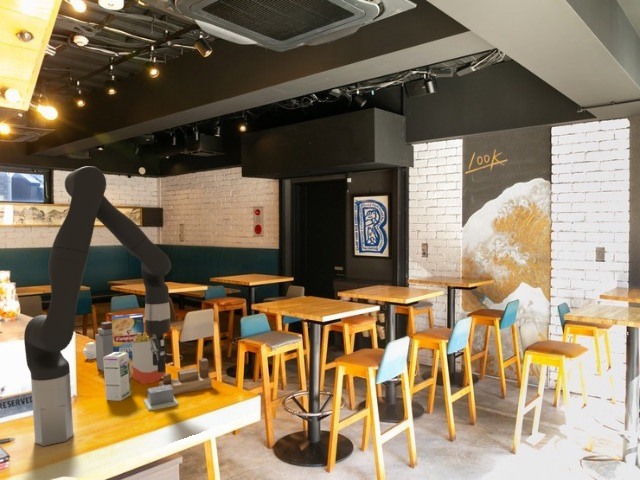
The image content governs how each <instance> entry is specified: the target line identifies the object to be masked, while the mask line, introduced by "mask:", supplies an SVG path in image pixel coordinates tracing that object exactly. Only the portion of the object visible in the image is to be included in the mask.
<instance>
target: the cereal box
mask: <svg viewBox="0 0 640 480" xmlns="http://www.w3.org/2000/svg"><path fill="white" fill-rule="evenodd" d="M111 322H112V334H113V352H128V354H129V368H130V378H132V377H133V378H134V376H133V357H132V343H134V342H133V339H135V340H136V341H137V333H141V336H143V333H145V324H144V315H143V313H142V312H140V313H131V314H119V315H112V316H111Z"/></svg>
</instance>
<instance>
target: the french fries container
mask: <svg viewBox="0 0 640 480" xmlns="http://www.w3.org/2000/svg"><path fill="white" fill-rule="evenodd" d="M133 342H134V343H132V357H133V379H135V380H136V381H138V382H139V383H141V384H150V383H156V382H155V381H157V382H160V380H161V379H163V374H167V372H166V371H167V370H166V365H165V372H160V373H159V372H158V366H157V365H156V366H154V365H153V354H152V352H151V351H152V350H151V349H150V348H151V339H150V335H147V333H146V332H145V331H144V333H143V336H141V333H137V341H136V340H135V339H133ZM161 355H163V353H160V356H161Z"/></svg>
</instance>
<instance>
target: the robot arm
mask: <svg viewBox="0 0 640 480" xmlns="http://www.w3.org/2000/svg"><path fill="white" fill-rule="evenodd" d="M64 188H65V191H66V193H67V194H68V195H69V196H70V197H71V199H70V204H69V208H68V212H67V214H66V216H65V219H64V220H63V221H62V223H61V226H60V228H59V229H58V231H57V233H56V235H55V238H54V241H53V243H52V247H51V250H50V254H49V258H48V265H47V267H48V268H47V269H48V271H47V272H48V279H49V283H50V289H51V290H50V291H51V297H50V302H49V306H48V311H47V314H41V315H36V316H34V317H33V318H32V319H30V320H29V321H28V322H27V324H26V327H25V329H24V335H23V337H24V338H23V339H24V340H23V341H24V343H23V344H24V350H25V357H26V358H25V359H26V365H27V368H28V370H29V372H30V382H31V397H32V401H31V402H32V416H33V417H32V418H33V430H34V442H35V444H37V445H40V446H41V447H46V446H50V445H55V444H59V443H64V442H68V441H69V439H71V438H72V436H73V435H74V424H73V423H74V422H73V406H72V404H73V403H72V390H71V389H72V388H71V370H70V363H69V361H68V360H67V359H66V358H65V357H64V355H63V354H62V351H63V350H65V349H66V348H67V347H68V346H69V345H70V343H71V342H72V339H73V336H74V332H75V326H76V325H75V324H76V317H77V309H78V301H79V297H80V292H81V288H82V283H83V277H84V275H85V274H84V273H85V270H86V266H87V262H88V259H89V258H88V257H89V253H90V248H91V243H92V240H93V233H94V229H95V223H96V219H97V220H98V221H99V222H100V223H102V225H103V226H104V227H106V228H107V229H108V231H109V232H110V233H111V234H112V235H113V236H114V237H115V238H116V239H117V241H118V242H120V244H121V245H122V246H123V247H124V248H125V250H127V252H128V253H129V254H131V255H132V256H133V257H136V258H137V259H138V260H139V261H140V262H141V268H140V269H141V277H142V280H143V281H142V282H143V285H144V293H145V295H144V296H145V299H144V300H145V307H144V333H145V332H146V335H147V334H148V335H149V336H150V340H151V348H150V349H151V350H152V351H151V352H152V354H153V365H154V366H156V365H157V366H158V372H159V373H160V372H165V366H166V360H167V359H168V351H167V350H168V349H167V348H168V347H167V346H168V345H167V338H165V336H164V335H165V334H168V333H169V332H171V308H170V307H171V306H170V295H169V286H168V285H167V284H166V282H165V277H164V276H166V275H167V274H168V273H170V271H171V269H172V262H171V260H170V258H169V256H168V255H167V254H166V253H165V252H164V251H163V250H162V249H161V248H160V247H159V246H157V245H156V244H155V243H154V242H153V241H151V239H149V237H148V236H147V235H146V234H145V232H143V230H142V229H141V228H140V226H138V224H136V222H134V220H132V219H131V218H130V217H128V216H127V215H126V214H125V213H123V212H122V211H120V210H119V209H118V208H117V207H116V206H114V205H113V203H112V202H110V200H109V199H108V198H107V197H106V196H105V193H106V189H107V179H106V176H105V174H104V173H103V171H102V170H101V169H99V168H98V167H96V166H91V165H87V166H83V167H80V168H78V169H75V170H74V171H71V172H70V173H69V174H68V175H67V176H66V177H65V180H64ZM160 353H163V355H161V356H160Z"/></svg>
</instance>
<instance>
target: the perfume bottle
mask: <svg viewBox="0 0 640 480" xmlns="http://www.w3.org/2000/svg"><path fill="white" fill-rule="evenodd" d="M100 326H101V327H99V328H97V332H98V333H97V334H96V333H95V334H94V338H95V339H94V340H95V341H94V343H95V345H96V358H95V359H96V369H97V370H99V371H101V370H102V371H101V372H104V362H103V357H105V356H107V355H109V354H112V353H113V334H112V321H103V322H100Z"/></svg>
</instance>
